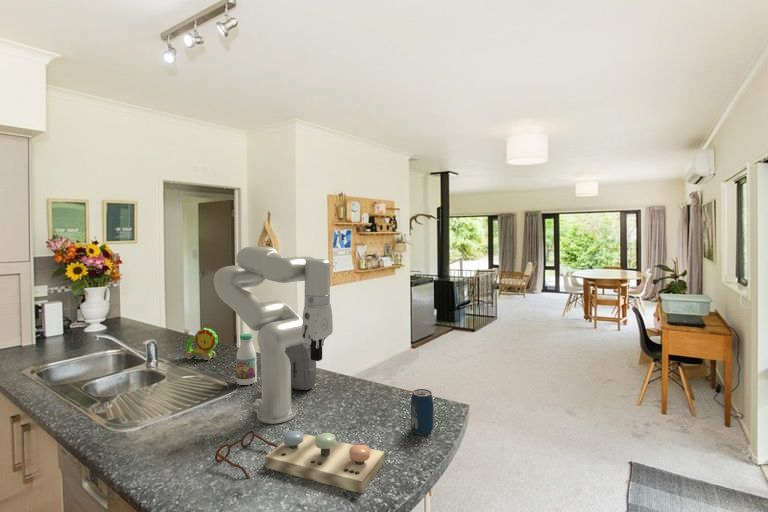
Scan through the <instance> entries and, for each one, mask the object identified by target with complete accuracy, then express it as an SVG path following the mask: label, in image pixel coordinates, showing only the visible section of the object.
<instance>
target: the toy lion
mask: <svg viewBox="0 0 768 512" xmlns="http://www.w3.org/2000/svg"><path fill="white" fill-rule="evenodd" d="M218 338H219V337H218V335H217V333H216V331H214V330H213V329H211V328H207V327H204V328H202V329H200V330H198V331H197V332H196V333H195V334H194V336H191V337H190V338H189V339H188V340H187V342H186V346H185V347H186V350H185V351H186V353H185V354H184V356H185V359H186V358H187V359H186V360H188V359H189V360H191V359H193V358H195V357H194V356H196V357H198V356H199V357H202V359H203V361H205V360H208V361H210V360H211V358H212V359H214V358H216V352H215V351H214V349H215V348H216V347H217V345H218V343H219V340H218ZM193 342H195V343H196V345H197V346H196V347H195V348H193V346H192V344H193Z"/></svg>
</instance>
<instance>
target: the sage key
mask: <svg viewBox="0 0 768 512" xmlns="http://www.w3.org/2000/svg"><path fill="white" fill-rule="evenodd" d="M335 441H336V435H335V434H333V433H331V432H323V433H319V434H318V435H316V438H315V445H316V447H317V448H320V449H328V448H331V447H333V446H334V445H335Z"/></svg>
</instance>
